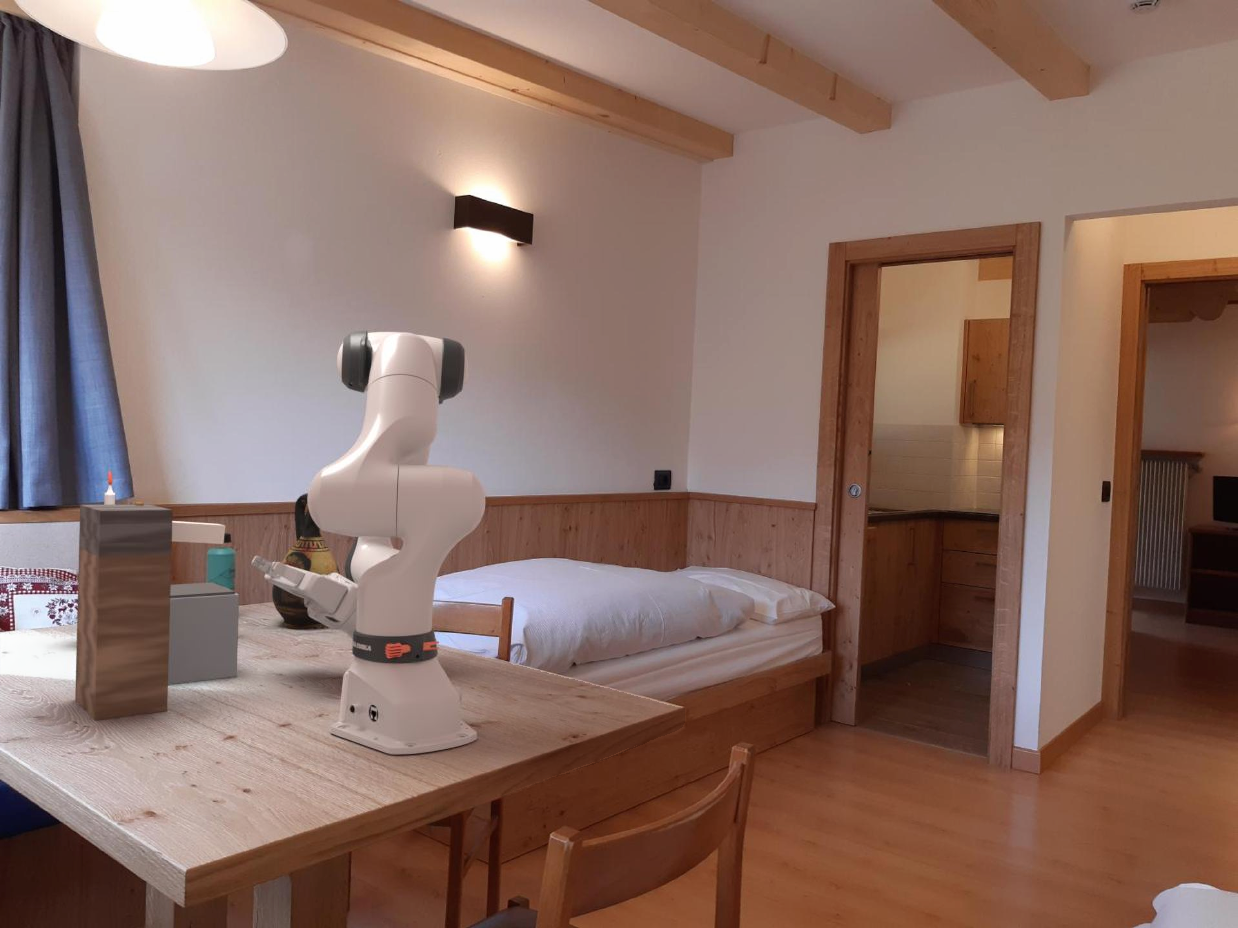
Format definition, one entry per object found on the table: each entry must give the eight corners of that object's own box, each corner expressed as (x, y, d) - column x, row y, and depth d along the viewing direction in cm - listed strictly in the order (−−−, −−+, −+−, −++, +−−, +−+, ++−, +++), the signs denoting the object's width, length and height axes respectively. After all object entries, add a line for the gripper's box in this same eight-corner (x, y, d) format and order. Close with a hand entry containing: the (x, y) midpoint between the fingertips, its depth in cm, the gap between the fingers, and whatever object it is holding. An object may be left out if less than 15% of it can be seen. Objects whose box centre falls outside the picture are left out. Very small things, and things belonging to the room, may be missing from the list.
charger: (223, 543, 161) (225, 525, 161) (113, 538, 151) (115, 518, 151) (216, 541, 164) (218, 523, 164) (107, 536, 154) (110, 516, 154)
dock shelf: (236, 676, 175) (239, 591, 175) (138, 687, 165) (141, 597, 165) (211, 661, 186) (214, 581, 186) (118, 671, 176) (120, 587, 175)
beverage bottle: (202, 621, 225) (204, 534, 225) (206, 616, 232) (208, 531, 231) (232, 621, 227) (235, 534, 227) (235, 616, 233) (238, 531, 233)
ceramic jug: (355, 626, 226) (359, 495, 225) (293, 634, 214) (297, 496, 214) (315, 616, 237) (318, 491, 237) (254, 623, 226) (258, 492, 225)
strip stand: (167, 710, 152) (172, 507, 151) (94, 720, 145) (100, 508, 145) (143, 691, 162) (148, 501, 162) (75, 699, 156) (80, 502, 156)
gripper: (316, 576, 184) (252, 540, 176) (364, 590, 168) (296, 551, 160) (299, 606, 182) (233, 572, 174) (345, 623, 166) (275, 586, 158)
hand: (264, 562), depth 167 cm, fingers open, 8 cm apart
